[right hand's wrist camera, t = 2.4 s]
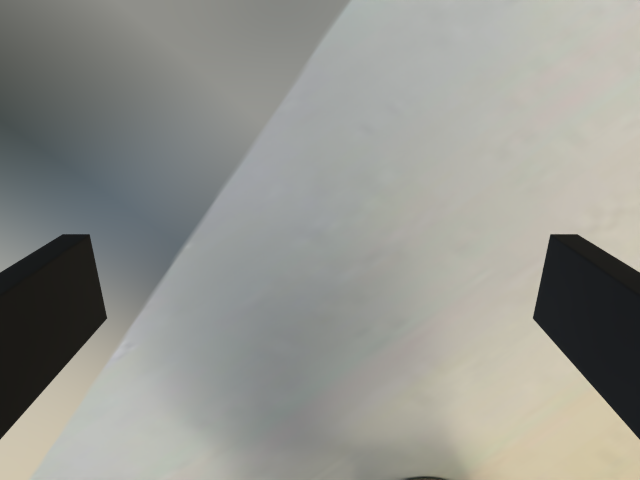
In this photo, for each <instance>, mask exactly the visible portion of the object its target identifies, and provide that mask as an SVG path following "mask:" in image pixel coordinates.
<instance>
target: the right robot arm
mask: <svg viewBox="0 0 640 480" xmlns="http://www.w3.org/2000/svg"><path fill="white" fill-rule="evenodd" d="M106 319H107V316H106V311H105V306H104V301H103V297H102V292H101V287H100V282H99V277H98V273H97V268H96V263H95V258H94V253H93V249H92V244H91V239H90V235H89V234H63V235H61V236H59V237H58V238H56V239H54V240H53V241H51V242H49V243H48V244H46V245H45V246H43V247H41V248H40V249H38V250H36V251H35V252H33V253H32V254H30V255H28V256H27V257H25V258H23V259H22V260H20V261H18V262H17V263H15V264H14V265H12V266H10V267H9V268H7V269H5V270H4V271H2V272H1V273H0V439H1V438H2V437H3V436H4V435H5V433H6V432H7V431H8V430H9V429H10V428H11V427H12V426H13V424H14V423H15V422H16V421H17V420H18V419H19V418H20V416H21V415H22V414H23V413H24V412H25V411H26V410H27V409H28V407H29V406H30V405H31V404H32V403H33V402H34V401H35V399H36V398H37V397H38V396H39V395H40V394H41V393H42V391H43V390H44V389H45V388H46V387H47V386H48V385H49V384H50V382H51V381H52V380H53V379H54V378H55V377H56V376H57V375H58V373H59V372H60V371H61V370H62V369H63V368H64V367H65V365H66V364H67V363H68V362H69V361H70V360H71V359H72V358H73V356H74V355H75V354H76V353H77V352H78V351H79V350H80V348H81V347H82V346H83V345H84V344H85V343H86V342H87V341H88V339H89V338H90V337H91V336H92V335H93V334H94V332H95V331H96V330H97V329H98V328H99V327H100V326H101V325H102V323H103V322H104V321H105V320H106ZM533 319H534V320H535V321H536V322H537V323H538V325H539V326H540V327H541V328H542V329H543V330H544V331H545V333H546V334H547V335H548V336H549V337H550V338H551V339H552V341H553V342H554V343H555V344H556V345H557V346H558V347H559V348H560V350H561V351H562V352H563V353H564V354H565V355H566V356H567V358H568V359H569V360H570V361H571V362H572V363H573V364H574V365H575V367H576V368H577V369H578V370H579V371H580V372H581V373H582V375H583V376H584V377H585V378H586V379H587V380H588V381H589V382H590V384H591V385H592V386H593V387H594V388H595V389H596V390H597V392H598V393H599V394H600V395H601V396H602V397H603V398H604V399H605V401H606V402H607V403H608V404H609V405H610V406H611V407H612V409H613V410H614V411H615V412H616V413H617V414H618V415H619V416H620V418H621V419H622V420H623V421H624V422H625V423H626V424H627V426H628V427H629V428H630V429H631V430H632V431H633V432H634V433H635V435H636V436H637V437H638V438H639V439H640V272H638V271H636V270H635V269H633V268H631V267H630V266H628V265H626V264H625V263H623V262H622V261H620V260H618V259H617V258H615V257H613V256H612V255H610V254H608V253H607V252H605V251H604V250H602V249H600V248H599V247H597V246H595V245H594V244H592V243H591V242H589V241H587V240H586V239H584V238H582V237H581V236H579V235H577V234H550V239H549V244H548V249H547V253H546V258H545V263H544V268H543V273H542V277H541V282H540V287H539V292H538V297H537V301H536V306H535V311H534V316H533ZM412 480H440V479H433V478H419V479H412Z"/></svg>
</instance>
